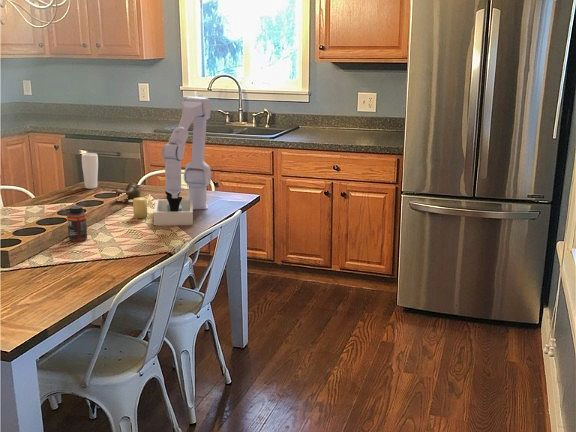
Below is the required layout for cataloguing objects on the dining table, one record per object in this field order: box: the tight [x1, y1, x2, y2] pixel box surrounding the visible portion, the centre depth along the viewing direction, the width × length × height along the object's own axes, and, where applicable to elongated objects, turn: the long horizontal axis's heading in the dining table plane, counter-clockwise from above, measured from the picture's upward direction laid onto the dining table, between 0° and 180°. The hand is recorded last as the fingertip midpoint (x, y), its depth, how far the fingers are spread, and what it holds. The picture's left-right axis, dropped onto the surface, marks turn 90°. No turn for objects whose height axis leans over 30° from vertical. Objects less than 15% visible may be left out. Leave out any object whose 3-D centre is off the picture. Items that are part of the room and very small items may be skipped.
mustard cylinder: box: [132, 197, 148, 219], centre depth 234 cm, size 5×5×7 cm
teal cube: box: [167, 205, 182, 212], centre depth 231 cm, size 5×5×5 cm
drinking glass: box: [81, 152, 99, 190], centre depth 273 cm, size 7×7×15 cm
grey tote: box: [153, 199, 194, 227], centre depth 235 cm, size 18×14×5 cm
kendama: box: [115, 182, 142, 201], centre depth 259 cm, size 6×10×20 cm
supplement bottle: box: [66, 205, 88, 243], centre depth 206 cm, size 6×6×11 cm
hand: (173, 212), depth 231 cm, fingers open, 7 cm apart
